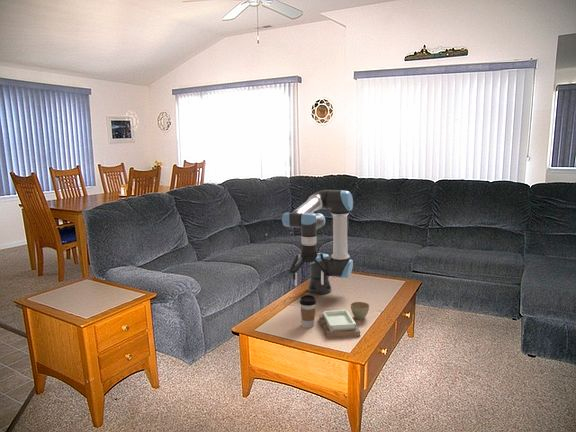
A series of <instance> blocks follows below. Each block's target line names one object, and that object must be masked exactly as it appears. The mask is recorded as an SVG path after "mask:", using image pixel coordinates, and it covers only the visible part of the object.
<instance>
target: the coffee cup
mask: <svg viewBox="0 0 576 432" xmlns="http://www.w3.org/2000/svg"><path fill="white" fill-rule="evenodd" d="M316 304H317V301H316V298H315V295H311V294H305V295H303V296H301V297H300V301H299V305H300V312H301V313H300V314H301V323H302V326H303V328H306V329H308V328H313V327H314V325H315V316H316Z"/></svg>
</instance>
